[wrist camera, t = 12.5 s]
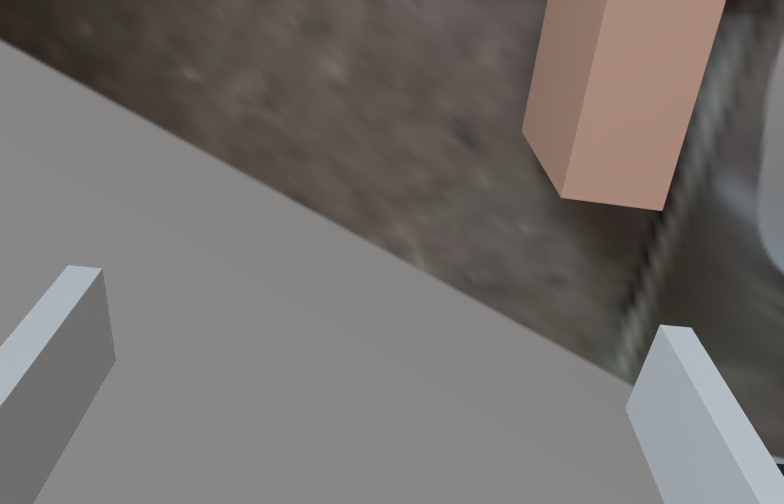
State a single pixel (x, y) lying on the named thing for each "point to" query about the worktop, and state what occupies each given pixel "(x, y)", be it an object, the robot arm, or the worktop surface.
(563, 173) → the pink beveled block
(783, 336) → the worktop surface
